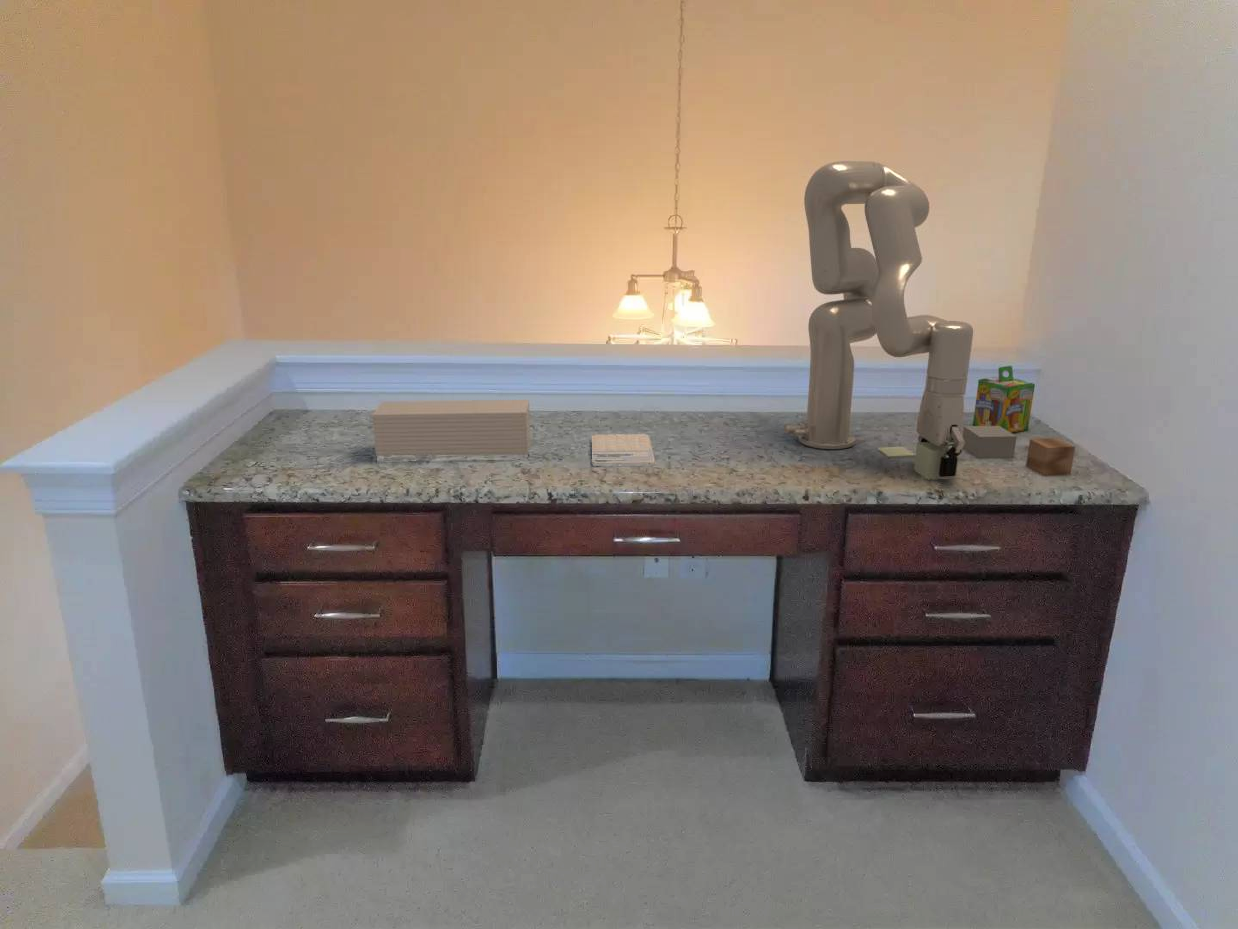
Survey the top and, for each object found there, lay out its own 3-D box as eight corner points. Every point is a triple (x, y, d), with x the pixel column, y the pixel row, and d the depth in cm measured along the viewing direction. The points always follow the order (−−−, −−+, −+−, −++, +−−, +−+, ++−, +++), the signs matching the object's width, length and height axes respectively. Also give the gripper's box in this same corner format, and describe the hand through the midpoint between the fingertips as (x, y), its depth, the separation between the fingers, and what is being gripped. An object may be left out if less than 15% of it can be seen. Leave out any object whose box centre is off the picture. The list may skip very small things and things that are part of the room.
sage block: (927, 480, 172) (930, 451, 170) (914, 470, 177) (917, 442, 175) (956, 478, 172) (959, 450, 171) (941, 469, 178) (945, 441, 176)
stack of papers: (376, 463, 183) (371, 414, 179) (387, 448, 193) (382, 401, 189) (528, 460, 184) (526, 412, 181) (530, 445, 194) (528, 399, 191)
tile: (888, 457, 185) (888, 456, 184) (876, 449, 190) (877, 447, 190) (914, 456, 185) (915, 455, 185) (902, 448, 191) (902, 446, 191)
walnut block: (1042, 476, 174) (1047, 447, 172) (1025, 466, 179) (1030, 439, 177) (1070, 474, 174) (1075, 446, 172) (1052, 465, 180) (1057, 437, 178)
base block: (976, 459, 184) (979, 436, 183) (960, 447, 192) (963, 426, 190) (1013, 458, 185) (1016, 436, 183) (996, 447, 192) (999, 425, 191)
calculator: (649, 440, 199) (649, 432, 198) (655, 468, 180) (655, 460, 179) (591, 441, 198) (591, 433, 198) (591, 469, 179) (591, 460, 179)
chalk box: (1002, 435, 200) (1011, 373, 195) (970, 426, 208) (979, 365, 203) (1029, 430, 204) (1039, 369, 199) (997, 421, 212) (1006, 361, 207)
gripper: (907, 376, 177) (899, 455, 182) (949, 396, 160) (938, 483, 166) (942, 374, 178) (932, 454, 183) (987, 395, 161) (975, 481, 167)
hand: (935, 468), depth 174 cm, fingers open, 9 cm apart
